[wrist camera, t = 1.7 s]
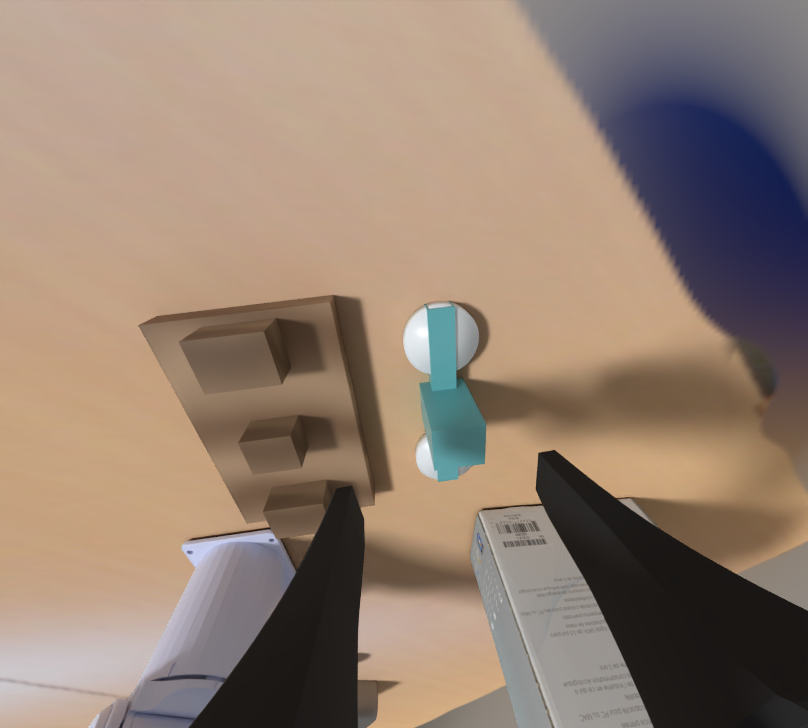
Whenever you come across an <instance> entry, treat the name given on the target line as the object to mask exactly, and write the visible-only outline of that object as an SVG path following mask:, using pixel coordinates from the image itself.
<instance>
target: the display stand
mask: <svg viewBox="0 0 808 728" xmlns="http://www.w3.org/2000/svg"><path fill="white" fill-rule="evenodd" d="M138 326H139V328H140V329H141V331H142V333H143V335H144V337H145V338H146V340H147V342H148V344H149V346H150V348H151V349H152V351H153V353H154V355H155V357H156V359H157V360H158V362H159V364H160V366H161V368H162V370H163V371H164V373H165V375H166V377H167V379H168V380H169V382H170V384H171V386H172V388H173V390H174V391H175V393H176V395H177V397H178V399H179V401H180V402H181V404H182V406H183V408H184V410H185V411H186V413H187V415H188V417H189V419H190V421H191V422H192V424H193V426H194V428H195V430H196V432H197V433H198V435H199V437H200V439H201V441H202V442H203V444H204V446H205V448H206V450H207V452H208V453H209V455H210V457H211V459H212V461H213V463H214V464H215V466H216V468H217V470H218V472H219V474H220V475H221V477H222V479H223V481H224V483H225V484H226V486H227V488H228V490H229V492H230V494H231V495H232V497H233V499H234V501H235V503H236V505H237V506H238V508H239V510H240V512H241V514H242V515H243V517H244V519H245V521H246V523H254V522H261V521H267V522H268V524H269V526H270V528H271V530H272V532H273V534H274V536H275V538H276V539H281V538H288V537H295V536H302V535H309V534H316V532H317V530H318V528H319V526H320V524H321V521H322V519H323V517H324V515H325V512H326V510H327V508H328V505H329V503H330V501H331V498H332V496H333V493H334V491H335V490H336V488H341V487H346V486H353V489H354V492H355V495H356V498H357V500H358V503H359V506H360V507H366V506H373V505H375V489H374V484H373V479H372V475H371V470H370V465H369V460H368V456H367V451H366V446H365V442H364V437H363V432H362V427H361V423H360V418H359V413H358V408H357V404H356V399H355V394H354V390H353V385H352V380H351V375H350V371H349V366H348V361H347V356H346V352H345V347H344V342H343V338H342V333H341V328H340V323H339V319H338V314H337V309H336V304H335V300H334V295H330V296H322V297H313V298H305V299H297V300H288V301H280V302H272V303H264V304H255V305H247V306H239V307H230V308H222V309H214V310H205V311H197V312H189V313H180V314H172V315H164V316H157V317H155V318H152V319H150V320H148V321H146V322H144V323H142V324H140V325H138Z"/></svg>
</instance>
